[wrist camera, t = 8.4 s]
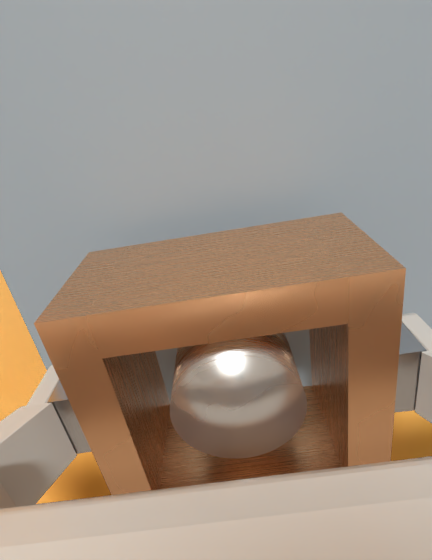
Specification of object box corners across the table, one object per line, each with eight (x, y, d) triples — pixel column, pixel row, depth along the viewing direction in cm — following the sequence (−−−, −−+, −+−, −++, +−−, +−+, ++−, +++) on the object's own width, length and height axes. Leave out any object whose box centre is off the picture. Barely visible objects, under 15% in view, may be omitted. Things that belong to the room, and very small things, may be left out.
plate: (89, 410, 17) (78, 438, 15) (-207, -284, 8) (-295, -365, 6) (549, 348, 15) (582, 372, 14) (821, -541, 7) (977, -704, 5)
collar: (148, 428, 13) (129, 534, 10) (88, 252, 10) (33, 323, 7) (342, 403, 13) (387, 504, 9) (341, 212, 10) (406, 268, 6)
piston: (191, 354, 13) (184, 465, 9) (173, 276, 12) (155, 367, 8) (279, 342, 13) (310, 450, 9) (271, 261, 12) (303, 347, 8)
